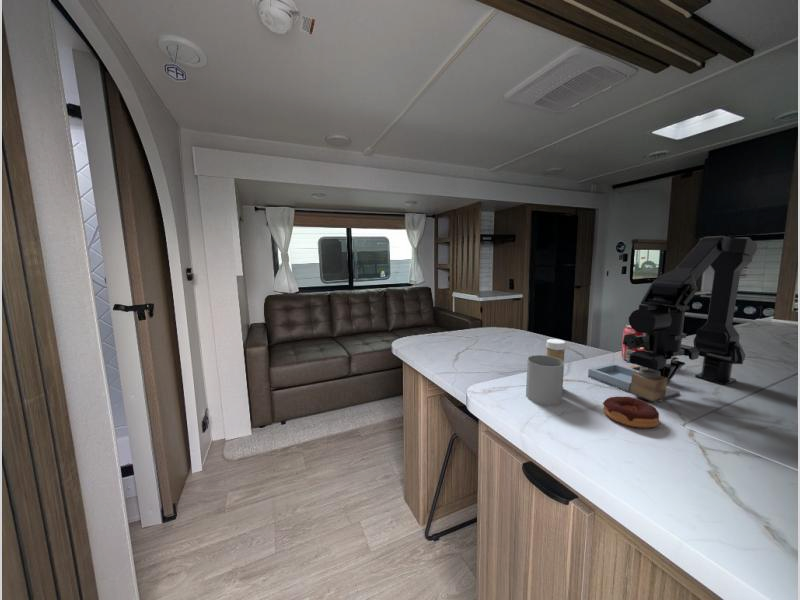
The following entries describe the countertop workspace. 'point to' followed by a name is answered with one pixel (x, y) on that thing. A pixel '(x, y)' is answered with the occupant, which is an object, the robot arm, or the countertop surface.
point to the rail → (668, 394)
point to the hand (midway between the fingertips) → (660, 387)
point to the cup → (544, 380)
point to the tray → (613, 375)
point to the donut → (631, 412)
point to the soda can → (625, 350)
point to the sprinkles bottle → (556, 348)
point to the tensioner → (648, 384)
